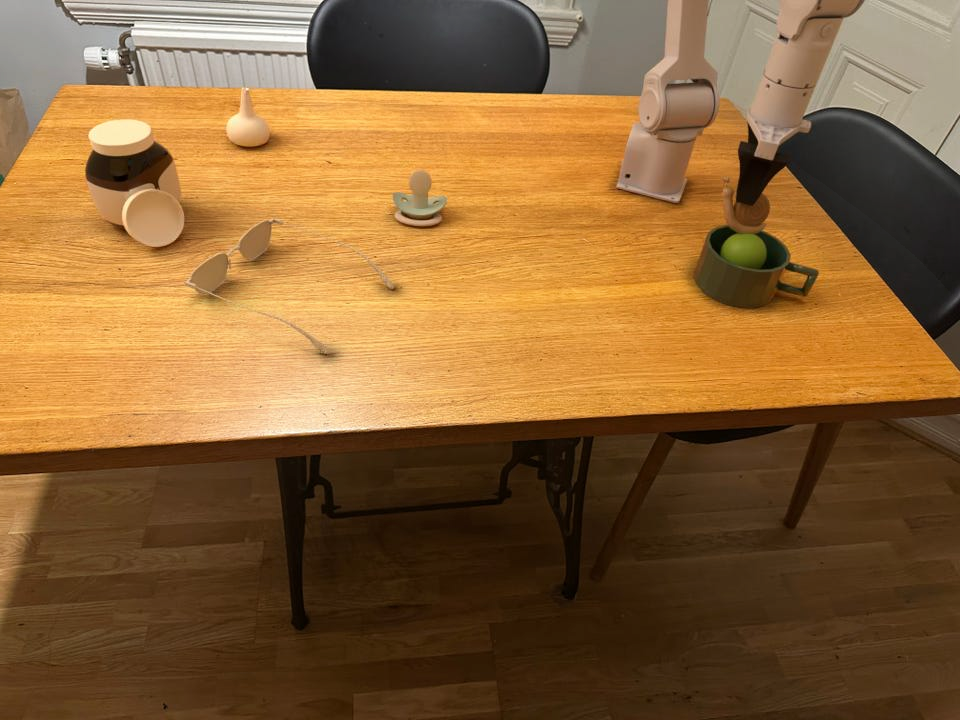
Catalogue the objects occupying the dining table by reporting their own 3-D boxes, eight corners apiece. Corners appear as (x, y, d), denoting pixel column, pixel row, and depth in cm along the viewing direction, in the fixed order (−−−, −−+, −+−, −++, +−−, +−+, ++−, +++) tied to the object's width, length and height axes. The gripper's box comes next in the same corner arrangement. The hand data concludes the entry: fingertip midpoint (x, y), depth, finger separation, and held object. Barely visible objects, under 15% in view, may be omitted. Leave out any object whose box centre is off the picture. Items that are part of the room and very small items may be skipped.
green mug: (687, 294, 86) (700, 257, 83) (700, 252, 93) (712, 216, 90) (802, 326, 83) (820, 290, 79) (806, 280, 90) (823, 245, 87)
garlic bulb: (219, 142, 106) (209, 90, 100) (249, 128, 110) (241, 77, 104) (249, 155, 104) (241, 102, 98) (279, 140, 108) (273, 88, 102)
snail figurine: (703, 271, 90) (714, 175, 86) (750, 271, 90) (763, 176, 87) (722, 280, 85) (734, 179, 81) (771, 280, 85) (786, 179, 81)
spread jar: (146, 192, 94) (122, 109, 86) (218, 212, 92) (200, 128, 84) (80, 237, 86) (47, 149, 78) (158, 260, 83) (132, 172, 75)
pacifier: (443, 232, 93) (447, 207, 97) (445, 191, 88) (449, 166, 92) (388, 226, 93) (395, 202, 97) (387, 185, 88) (394, 161, 92)
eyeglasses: (275, 240, 88) (271, 212, 86) (399, 285, 83) (398, 257, 81) (189, 306, 78) (180, 277, 75) (324, 361, 73) (320, 333, 70)
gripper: (825, 110, 71) (776, 225, 80) (829, 64, 81) (785, 170, 90) (755, 95, 72) (714, 209, 82) (767, 51, 82) (730, 157, 92)
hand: (747, 188), depth 86 cm, fingers open, 7 cm apart
